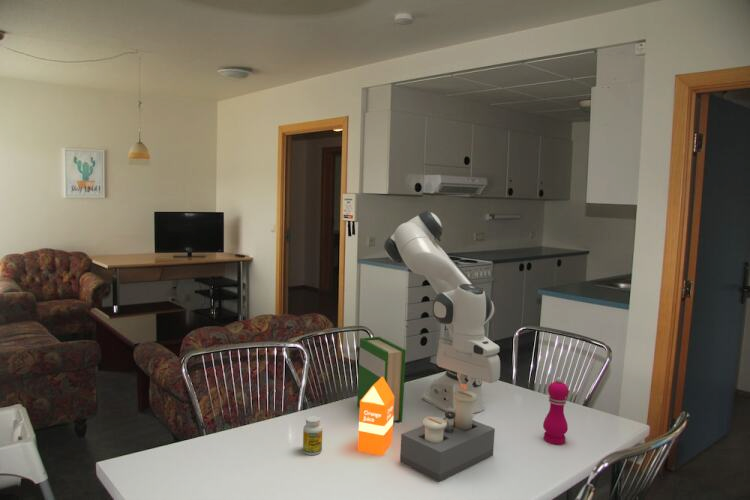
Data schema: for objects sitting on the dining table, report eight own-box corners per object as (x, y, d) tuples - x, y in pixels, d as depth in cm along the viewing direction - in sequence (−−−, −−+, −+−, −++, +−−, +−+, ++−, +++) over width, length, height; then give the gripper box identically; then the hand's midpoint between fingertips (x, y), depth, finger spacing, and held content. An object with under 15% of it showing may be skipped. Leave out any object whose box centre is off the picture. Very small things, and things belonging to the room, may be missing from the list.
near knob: (416, 455, 154) (418, 419, 153) (431, 449, 159) (433, 413, 158) (434, 464, 150) (436, 427, 149) (449, 457, 154) (451, 421, 153)
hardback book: (402, 422, 183) (405, 350, 181) (382, 425, 180) (385, 352, 177) (376, 403, 199) (379, 336, 196) (357, 406, 195) (360, 338, 193)
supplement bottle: (317, 445, 164) (318, 413, 163) (324, 453, 159) (325, 420, 158) (299, 449, 161) (300, 416, 160) (306, 457, 156) (307, 423, 155)
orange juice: (392, 443, 167) (395, 377, 165) (383, 455, 159) (386, 387, 157) (367, 438, 170) (370, 373, 168) (357, 450, 162) (360, 382, 160)
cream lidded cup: (447, 427, 163) (449, 392, 162) (461, 421, 167) (463, 388, 166) (465, 434, 158) (467, 399, 157) (478, 428, 163) (481, 394, 162)
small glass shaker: (441, 430, 158) (442, 412, 158) (448, 428, 160) (449, 410, 160) (449, 434, 156) (450, 416, 156) (456, 431, 158) (457, 413, 158)
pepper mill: (568, 446, 170) (573, 382, 168) (543, 443, 172) (548, 379, 170) (565, 436, 177) (570, 375, 175) (541, 434, 179) (545, 372, 177)
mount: (399, 461, 156) (401, 434, 155) (454, 438, 172) (456, 413, 172) (439, 482, 146) (440, 452, 145) (493, 455, 162) (494, 428, 162)
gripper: (433, 336, 166) (430, 381, 167) (491, 352, 151) (488, 402, 152) (446, 333, 170) (444, 377, 171) (504, 348, 155) (501, 397, 157)
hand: (465, 389), depth 162 cm, fingers closed
